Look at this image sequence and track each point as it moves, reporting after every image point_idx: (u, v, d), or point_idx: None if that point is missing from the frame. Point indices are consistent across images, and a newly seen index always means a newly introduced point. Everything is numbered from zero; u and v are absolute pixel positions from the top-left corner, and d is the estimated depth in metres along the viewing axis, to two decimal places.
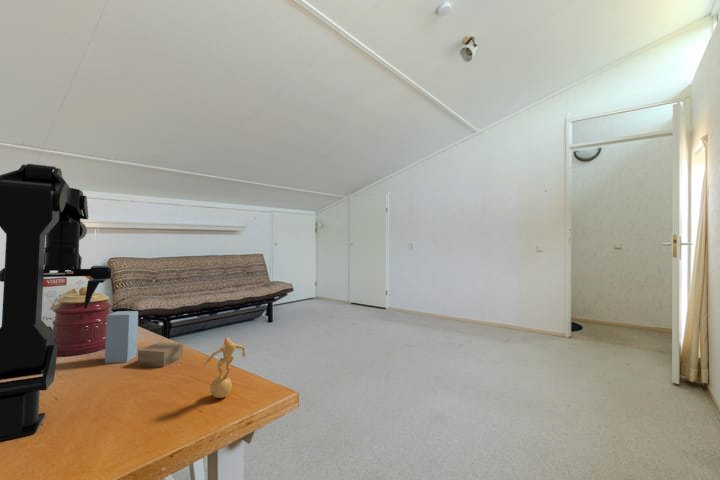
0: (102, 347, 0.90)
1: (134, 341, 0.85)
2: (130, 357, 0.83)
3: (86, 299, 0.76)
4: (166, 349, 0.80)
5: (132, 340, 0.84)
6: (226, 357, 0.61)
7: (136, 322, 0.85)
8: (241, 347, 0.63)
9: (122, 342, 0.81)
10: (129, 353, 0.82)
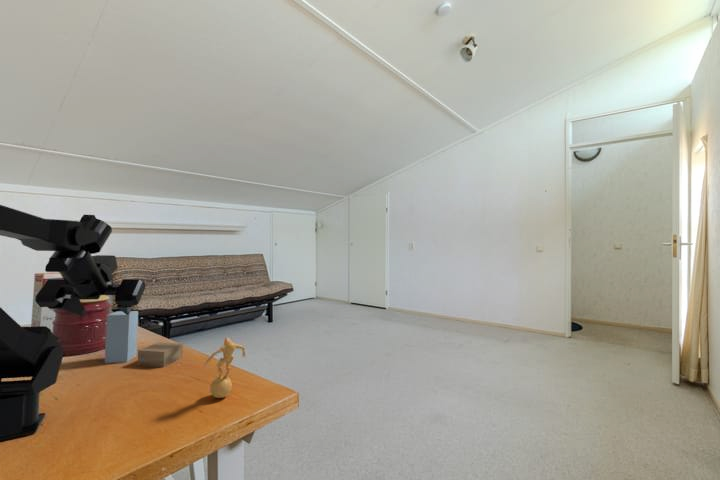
0: (102, 347, 0.90)
1: (134, 341, 0.85)
2: (130, 357, 0.83)
3: (124, 311, 0.74)
4: (166, 349, 0.80)
5: (132, 340, 0.84)
6: (226, 357, 0.61)
7: (136, 322, 0.85)
8: (241, 347, 0.63)
9: (122, 342, 0.81)
10: (129, 353, 0.82)
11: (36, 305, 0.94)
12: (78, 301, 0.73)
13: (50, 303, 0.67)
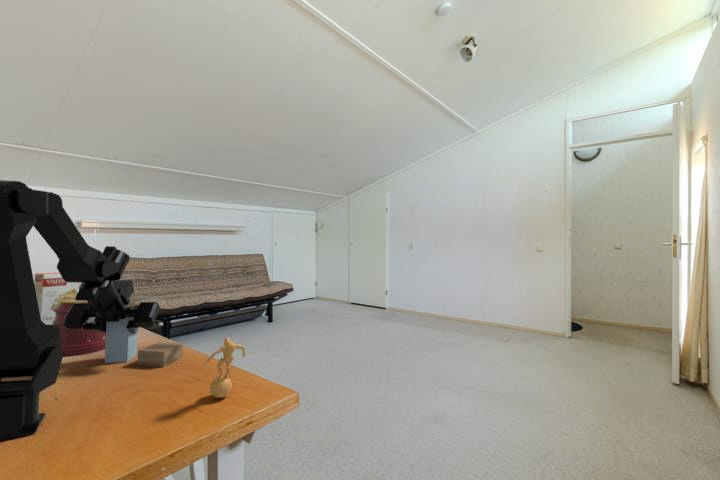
0: (102, 347, 0.90)
1: (135, 341, 0.85)
2: (130, 357, 0.83)
3: (132, 331, 0.83)
4: (166, 349, 0.80)
5: (132, 340, 0.84)
6: (226, 357, 0.61)
7: None
8: (241, 347, 0.63)
9: (122, 342, 0.81)
10: (129, 353, 0.82)
11: None
12: None
13: (76, 325, 0.75)
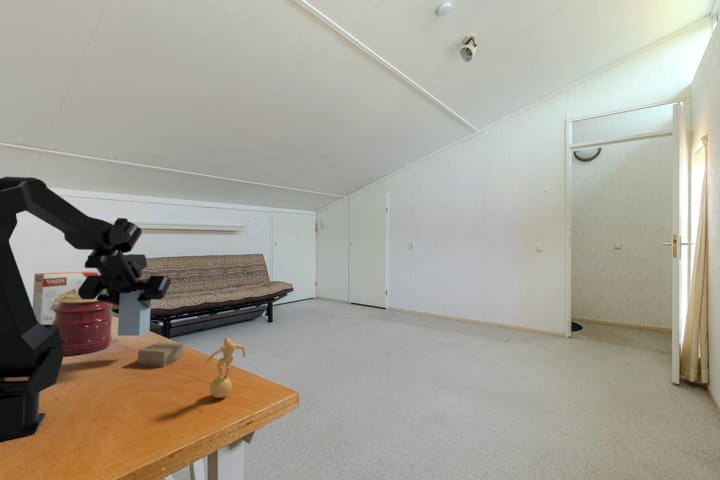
0: (102, 347, 0.90)
1: (147, 315, 0.85)
2: (143, 331, 0.83)
3: (144, 305, 0.83)
4: (166, 349, 0.80)
5: (145, 314, 0.84)
6: (226, 357, 0.61)
7: None
8: (241, 347, 0.63)
9: (134, 315, 0.81)
10: (141, 326, 0.82)
11: (36, 305, 0.94)
12: None
13: (90, 296, 0.76)
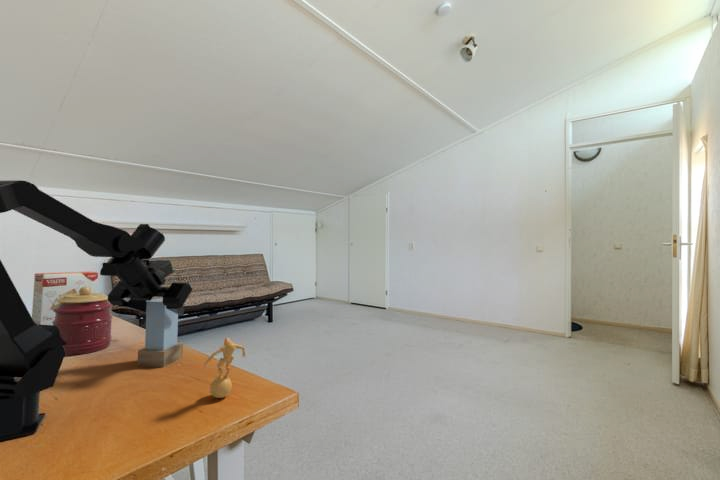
0: (102, 347, 0.90)
1: (174, 329, 0.83)
2: (168, 346, 0.81)
3: (176, 312, 0.81)
4: (166, 349, 0.80)
5: (170, 328, 0.82)
6: (226, 357, 0.61)
7: None
8: (241, 347, 0.63)
9: (159, 330, 0.80)
10: (166, 341, 0.80)
11: (36, 305, 0.94)
12: (144, 301, 0.82)
13: (117, 302, 0.77)
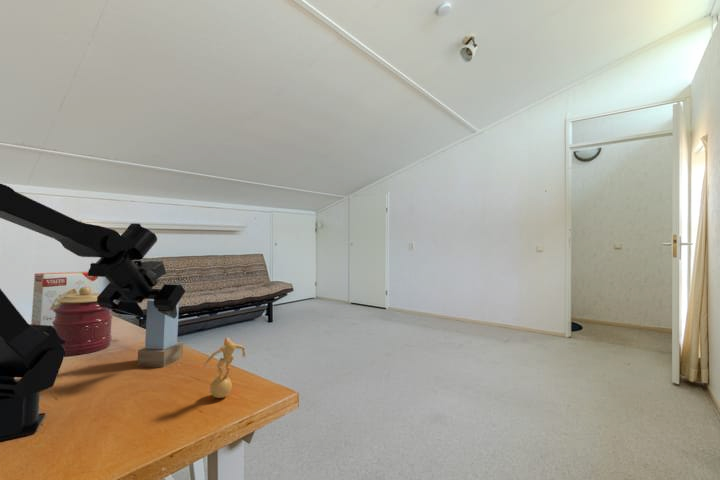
0: (102, 347, 0.90)
1: (174, 329, 0.84)
2: (168, 345, 0.81)
3: (168, 315, 0.78)
4: (166, 349, 0.80)
5: (170, 328, 0.82)
6: (226, 357, 0.61)
7: None
8: (241, 347, 0.63)
9: (159, 329, 0.80)
10: (166, 340, 0.81)
11: (36, 305, 0.94)
12: (135, 303, 0.79)
13: (107, 304, 0.74)
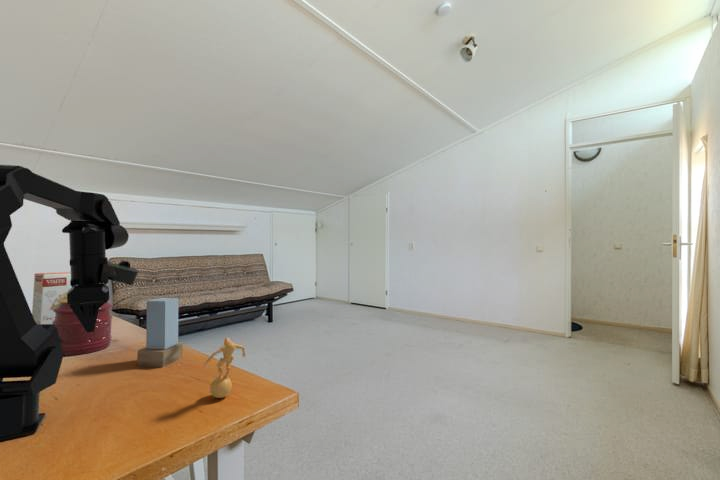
0: (102, 347, 0.90)
1: (175, 328, 0.84)
2: (169, 345, 0.82)
3: None
4: (165, 349, 0.80)
5: (171, 327, 0.82)
6: (226, 357, 0.61)
7: (176, 309, 0.84)
8: (241, 347, 0.63)
9: (160, 329, 0.80)
10: (167, 340, 0.81)
11: (36, 305, 0.94)
12: None
13: None
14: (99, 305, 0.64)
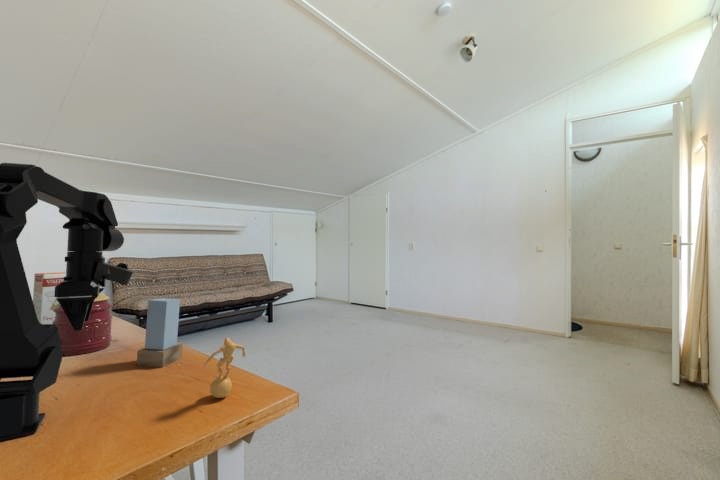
0: (102, 347, 0.90)
1: (174, 329, 0.83)
2: (168, 346, 0.81)
3: None
4: (165, 349, 0.80)
5: (171, 328, 0.82)
6: (226, 357, 0.61)
7: (177, 310, 0.84)
8: (241, 347, 0.63)
9: (159, 329, 0.80)
10: (166, 341, 0.80)
11: (36, 305, 0.94)
12: (90, 303, 0.72)
13: None
14: (88, 301, 0.63)
